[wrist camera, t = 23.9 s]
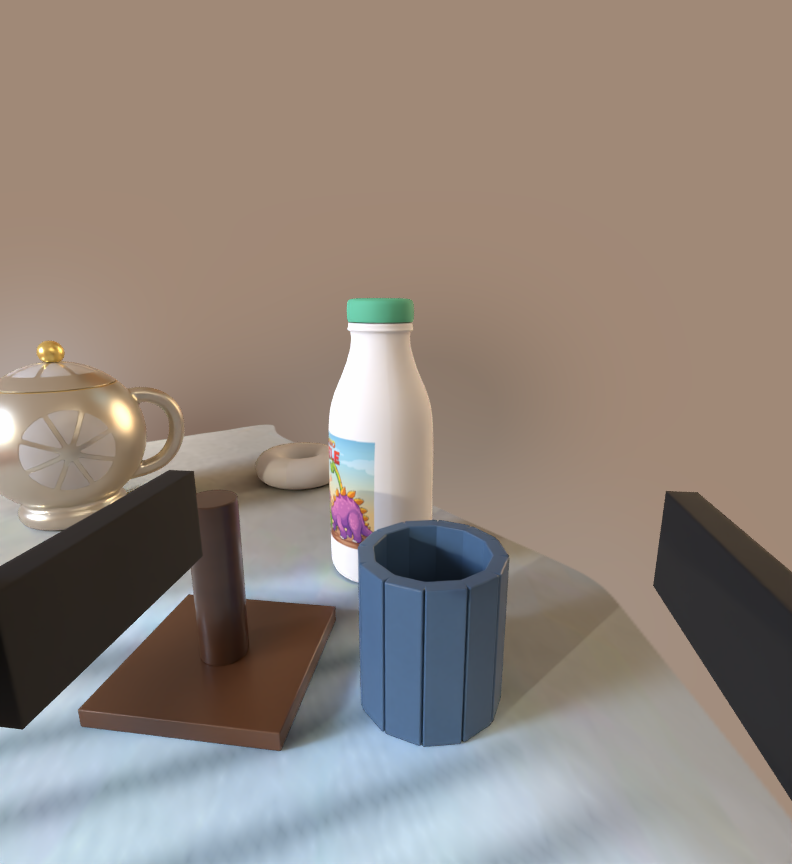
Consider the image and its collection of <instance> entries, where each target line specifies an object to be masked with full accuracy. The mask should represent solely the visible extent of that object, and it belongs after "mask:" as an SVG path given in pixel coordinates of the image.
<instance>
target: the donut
mask: <svg viewBox="0 0 792 864" xmlns="http://www.w3.org/2000/svg"><path fill="white" fill-rule="evenodd" d="M255 468H256V472H257V475H258V477H259V479H260V480H262V481H263V482H264V483H266V484H268V485H270V486H273V487H277V488H281V489H290V490H299V489H310V488H315V487H320V486H323V485H326V484H328V483H329V446H328V445H325V444H319V443H310V442H303V443H301V442H300V443H288V444H283V445H278V446H275V447H272V448H270V449H268V450H266V451H264V452H263V453H262V454H261V455H260V456H259V457H258V459H257V461H256V464H255Z"/></svg>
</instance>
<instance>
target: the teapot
mask: <svg viewBox="0 0 792 864" xmlns="http://www.w3.org/2000/svg"><path fill="white" fill-rule="evenodd" d="M37 355H38V357H39V359H40V360H42V361H43V362H42V363H36V364H32V365H28V366H25V367H22V368H19V369H17V370H14V371H13V372H10V373H8V374H7V375H5V376H3V377H2V378H0V494H1V495H3V496H4V497H6V498H8V499H10V500H12V501H14V502H16V503H18V504H21V506H20V507H19V510H18V517H19V519H20V521H21V522H22V523H23V524H24V525H26V526H28V527H30V528H33V529H38V530H65V529H67V528H68V527H70V526H72V525H74V524H76V523H77V522H79V521H81V520H83V519H84V518H86V517H88V516H90V515H91V514H93V513H95V512H97V511H98V510H100V509H102V508H104V507H105V506H107V505H109V504H111V503H112V502H114V501H116V500H118V499H120V498H121V497H123V496H125V495H127V493H126V491H125V489H124V488H123V486H124V485H125V484H126V483H127V482H128V481H129V480H130V479H133V478H137V477H141V476H144V475H147V474H150V473H152V472H155V471H157V470H159V469H161V468H163V467H164V466H166V465H167V464H168V463H169V462H170V461H171V460H172V459H173V458H174V457H175V455H176V454H177V452H178V451H179V449H180V446H181V444H182V441H183V437H184V418H183V414H182V411H181V409H180V407H179V405H178V404H177V403H176V401H175V400H174V399H173V398H172V397H170V396H169V395H167V394H166V393H164V392H162V391H160V390H157V389H153V388H148V387H135V388H129V389H127V388H125V387H124V386H123V385H122V384H121V383H120V382H118V381H117V380H116V379H115V378H113V377H111V376H110V375H108V374H106V373H105V372H103V371H100V370H98V369H96V368H93V367H90V366H87V365H83V364H79V363H74V362H64V361H61V360H62V359H63V358H64V349H63V347H62V346H61V345H60V344H59V343H57V342H54V341H44V342H42V343H41V344H40V345H39V346H38V347H37ZM141 402H148V403H152V404H155V405H157V406H159V407H160V408H162V409H163V410H164V412H165V413H166V415H167V417H168V421H169V435H168V439H167V441H166V443H165V445H164V447H163V448H162V450H161V451H160V452H159V453H158V454H156V455H155V456H153V457H151V458H149V459H147V460H142V458H143V455H144V451H145V447H146V424H145V420H144V416H143V414H142V411H141V409H140V407H139V404H140V403H141Z"/></svg>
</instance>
